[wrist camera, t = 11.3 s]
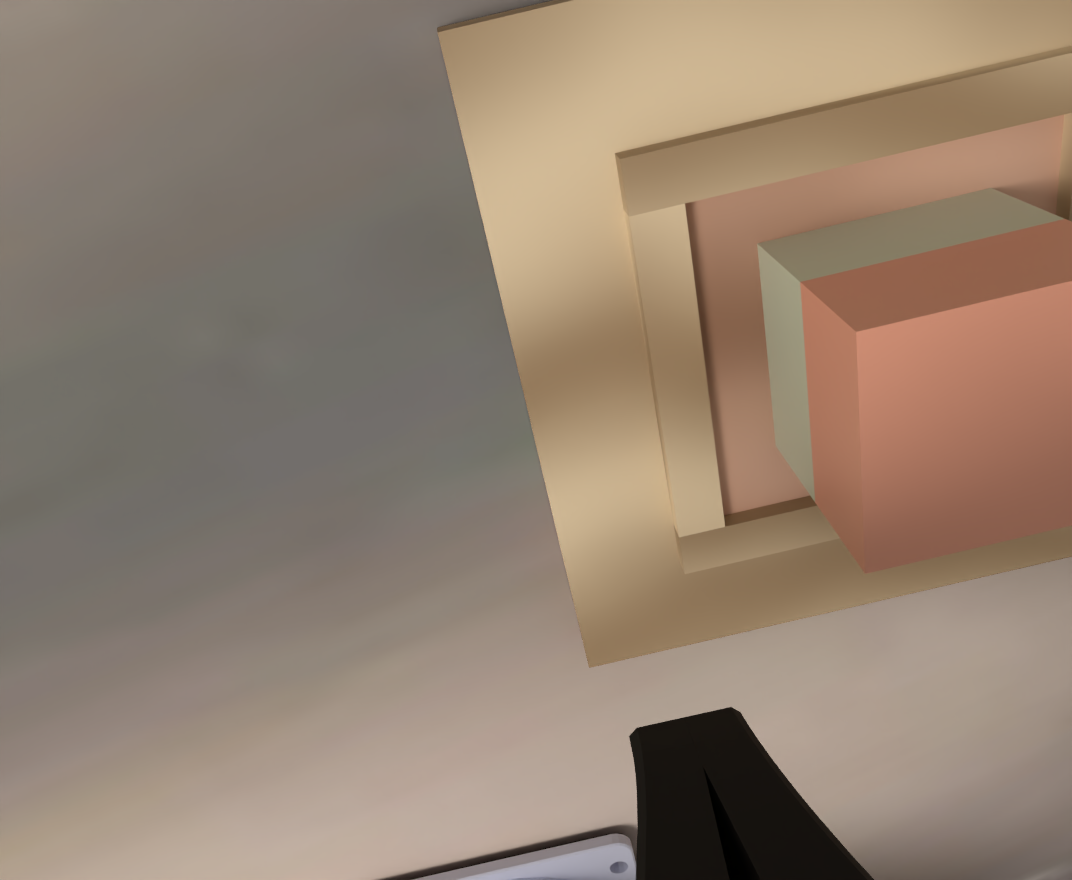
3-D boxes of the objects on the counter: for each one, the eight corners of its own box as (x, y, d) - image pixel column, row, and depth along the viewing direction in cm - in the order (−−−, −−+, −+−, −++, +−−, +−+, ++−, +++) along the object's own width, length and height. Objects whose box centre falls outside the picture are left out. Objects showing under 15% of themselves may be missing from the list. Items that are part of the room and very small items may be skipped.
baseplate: (1141, 510, 22) (1186, 546, 21) (582, 639, 22) (592, 682, 21) (1244, -164, 15) (1321, -175, 14) (437, 27, 15) (438, 35, 14)
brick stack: (982, 397, 19) (1126, 512, 15) (775, 445, 19) (864, 573, 15) (990, 187, 17) (1161, 259, 13) (757, 243, 17) (856, 331, 13)
